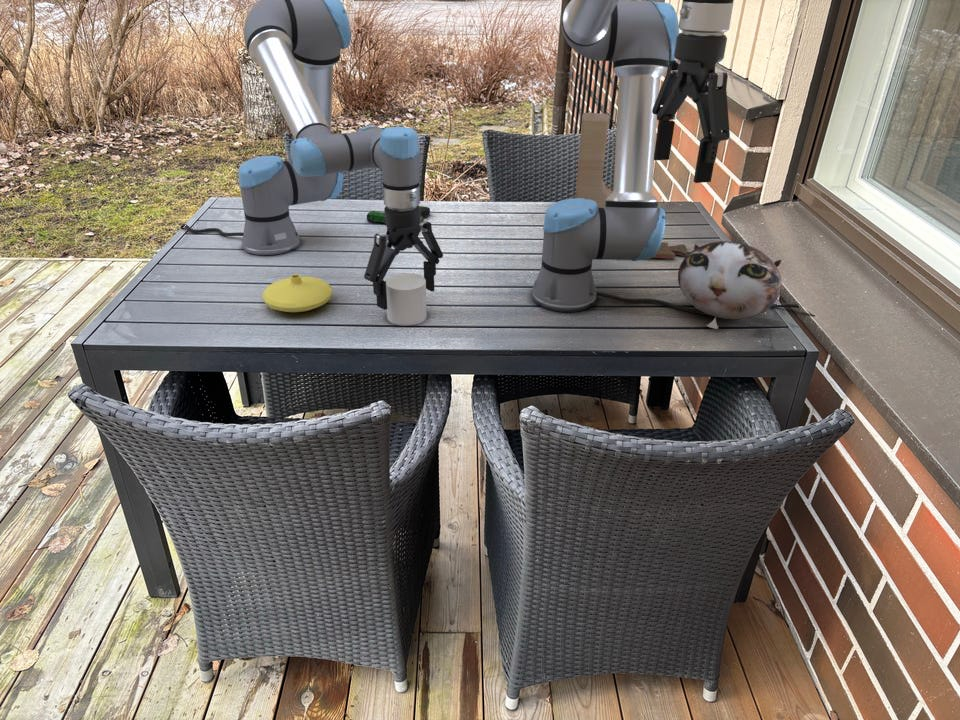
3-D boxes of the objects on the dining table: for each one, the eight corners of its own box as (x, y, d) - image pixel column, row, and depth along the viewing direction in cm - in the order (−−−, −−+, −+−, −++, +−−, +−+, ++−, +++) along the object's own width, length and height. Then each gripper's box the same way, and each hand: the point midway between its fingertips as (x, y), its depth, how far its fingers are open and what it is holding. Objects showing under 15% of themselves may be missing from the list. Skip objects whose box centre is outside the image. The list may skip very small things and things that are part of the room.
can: (432, 311, 164) (432, 276, 159) (416, 328, 157) (415, 292, 152) (397, 305, 166) (395, 270, 162) (380, 321, 159) (377, 286, 155)
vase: (301, 284, 175) (298, 257, 172) (347, 301, 167) (345, 273, 164) (249, 307, 164) (244, 278, 160) (296, 326, 156) (292, 297, 153)
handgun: (435, 206, 218) (413, 220, 206) (436, 216, 220) (413, 230, 208) (389, 200, 224) (364, 213, 212) (389, 209, 225) (365, 223, 213)
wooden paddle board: (691, 261, 192) (683, 247, 200) (692, 255, 191) (684, 241, 199) (595, 258, 192) (591, 244, 200) (595, 252, 191) (591, 238, 200)
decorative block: (623, 221, 217) (635, 120, 201) (573, 219, 218) (582, 117, 203) (622, 213, 223) (634, 114, 208) (574, 210, 225) (582, 112, 209)
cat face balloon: (655, 305, 156) (684, 221, 158) (671, 327, 172) (697, 250, 173) (760, 330, 146) (790, 239, 147) (766, 351, 161) (793, 268, 163)
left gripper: (364, 224, 139) (371, 321, 149) (458, 197, 154) (458, 287, 165) (342, 214, 143) (350, 309, 154) (435, 189, 158) (436, 277, 169)
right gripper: (643, 24, 119) (627, 152, 130) (726, 43, 99) (700, 194, 109) (683, 23, 121) (664, 150, 132) (773, 42, 100) (742, 190, 111)
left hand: (406, 298), depth 159 cm, fingers open, 13 cm apart
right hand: (680, 170), depth 121 cm, fingers open, 13 cm apart
